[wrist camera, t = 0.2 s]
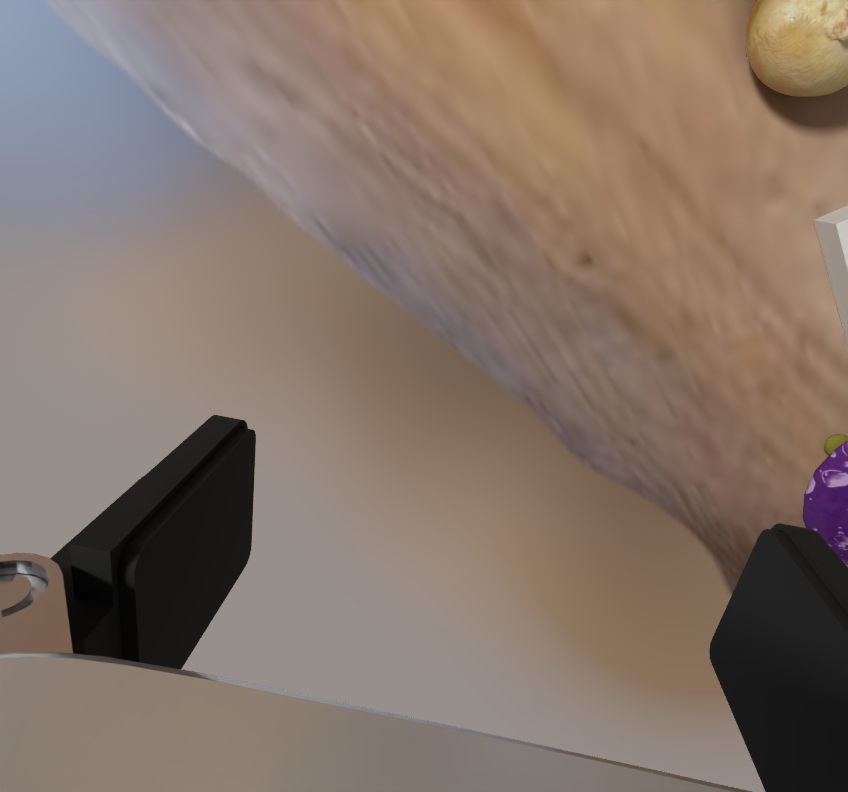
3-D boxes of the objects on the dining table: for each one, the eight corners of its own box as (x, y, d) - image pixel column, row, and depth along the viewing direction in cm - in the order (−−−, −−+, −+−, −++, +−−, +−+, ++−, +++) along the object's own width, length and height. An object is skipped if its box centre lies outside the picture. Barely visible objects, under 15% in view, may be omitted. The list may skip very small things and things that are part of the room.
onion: (716, 94, 39) (759, 81, 33) (754, -48, 36) (810, -93, 30) (839, 107, 39) (907, 96, 32) (888, -36, 36) (974, -80, 29)
